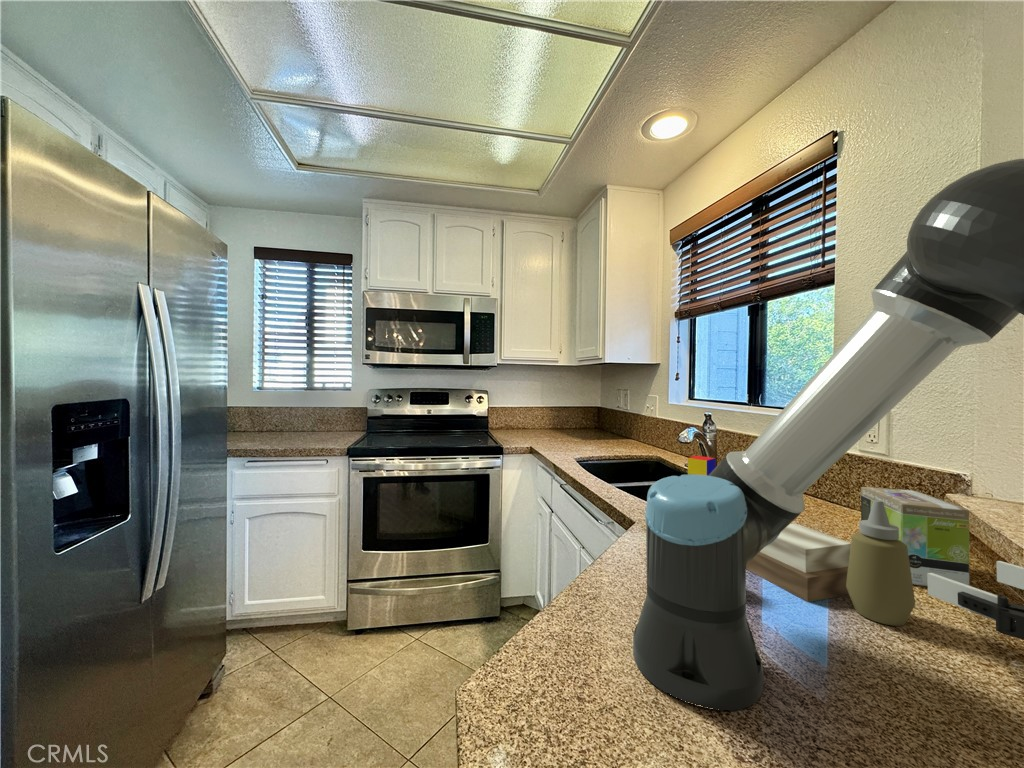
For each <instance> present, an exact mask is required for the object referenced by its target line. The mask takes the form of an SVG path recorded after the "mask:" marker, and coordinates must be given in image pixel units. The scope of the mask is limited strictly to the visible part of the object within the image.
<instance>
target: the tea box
mask: <svg viewBox="0 0 1024 768" xmlns="http://www.w3.org/2000/svg"><path fill="white" fill-rule="evenodd" d="M860 490H861V491H860V494H861V495H860V506H861V507H860V521H861V520H868V518H869V514H870V511H871V507H872V504H873V501H874V500H876V501H882V502H883V503H884V506H885V510H886V513H887V517H888V520H889V524H892V525H895V526H897V527H898V528H899V539H898V540H900V541H901V542H903V543H904V544H905V545H907V549H908V556H909V563H910V570H911V577H912V584H913V585H917V586H922V587H923V586H924V587H928V583H927V573H934V574H937V575H939V576H942V577H945V578H948V579H951V580H954V581H957V582H960V583H963V584H965V585H968V586H970V509H968V508H966V507H964V506H960V505H957V504H954V503H951V502H948V501H946V500H943V499H941V498H937V497H934V496H931V495H929V494H926V493H923V492H920V491H918V490H911V489H897V488H886V487H885V488H884V487H872V486H861V487H860Z"/></svg>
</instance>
